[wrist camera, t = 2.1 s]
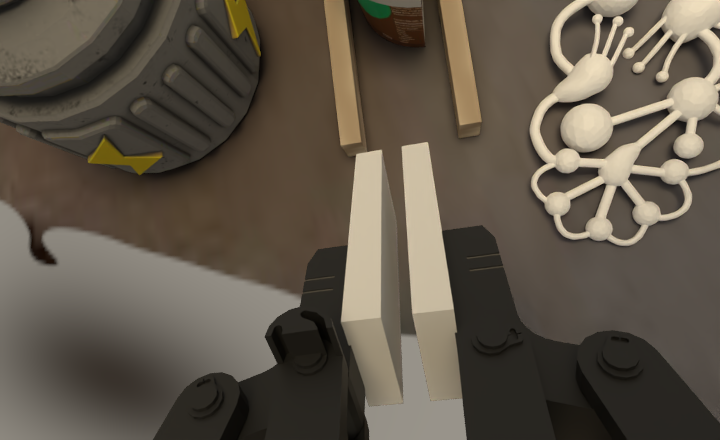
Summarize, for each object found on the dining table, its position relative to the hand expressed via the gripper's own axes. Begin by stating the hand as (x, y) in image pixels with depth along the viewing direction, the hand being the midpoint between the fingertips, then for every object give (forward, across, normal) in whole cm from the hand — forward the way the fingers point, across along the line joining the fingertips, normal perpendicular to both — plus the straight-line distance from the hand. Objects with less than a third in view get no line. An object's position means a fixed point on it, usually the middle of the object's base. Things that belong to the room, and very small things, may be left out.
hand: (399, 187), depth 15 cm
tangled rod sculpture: (+22, +16, -10) cm, 29 cm away
